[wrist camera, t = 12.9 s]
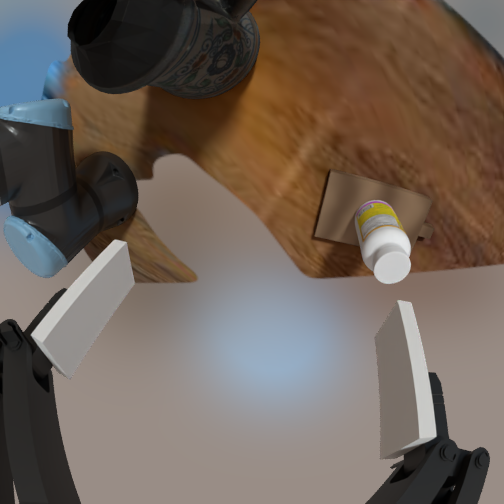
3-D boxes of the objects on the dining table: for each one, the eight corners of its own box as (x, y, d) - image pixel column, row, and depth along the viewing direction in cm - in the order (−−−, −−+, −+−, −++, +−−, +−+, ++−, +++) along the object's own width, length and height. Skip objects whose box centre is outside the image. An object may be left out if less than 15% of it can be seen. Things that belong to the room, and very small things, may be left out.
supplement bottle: (390, 238, 40) (408, 292, 30) (351, 234, 42) (360, 289, 31) (398, 200, 37) (424, 247, 26) (357, 195, 38) (371, 242, 28)
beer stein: (140, 70, 34) (7, 93, 14) (202, -28, 23) (95, -90, 3) (223, 117, 37) (117, 169, 17) (299, 14, 26) (274, -77, 6)
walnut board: (314, 231, 45) (314, 236, 43) (330, 168, 38) (330, 171, 37) (417, 255, 43) (419, 260, 41) (440, 200, 36) (444, 204, 35)
